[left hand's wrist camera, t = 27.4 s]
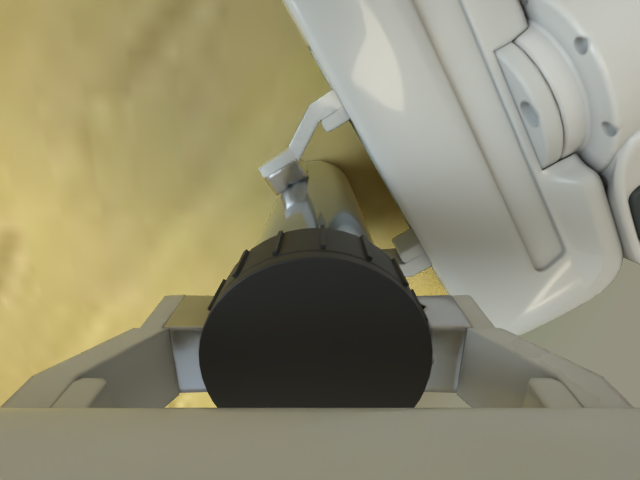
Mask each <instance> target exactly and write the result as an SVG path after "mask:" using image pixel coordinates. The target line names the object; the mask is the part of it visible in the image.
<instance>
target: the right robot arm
mask: <svg viewBox="0 0 640 480" xmlns="http://www.w3.org/2000/svg"><path fill="white" fill-rule="evenodd" d="M282 2H283V4H284V6H285V7H286V9H287V11H288V13H289V15H290V16H291V18H292V20H293V22H294V23H295V25H296V27H297V29H298V30H299V32H300V34H301V36H302V38H303V39H304V41H305V43H306V45H307V46H308V48H309V50H310V52H311V54H312V55H313V57H314V59H315V61H316V62H317V64H318V66H319V68H320V70H321V71H322V73H323V75H324V77H325V78H326V80H327V82H328V84H329V85H330V87H331V89H332V90H331V91H329V92H328V93H326V94H325V95H323V96H322V97H320V98H319V99H317V100H316V101H314V102H313V103H311V104H310V105H309V107H308V109H307V111H306V113H305V115H304V117H303V119H302V121H301V123H300V125H299V127H298V129H297V131H296V133H295V135H294V137H293V139H292V141H291V143H290V145H289V147H288V148H286V149H285V150H283V151H281V152H280V153H278V154H277V155H275V156H274V157H272V158H271V159H269V160H268V161H266V162H265V163H264V164H262V165H261V166H260V167H259V168H258V170H259V172H260V173H261V175H262V176H263V178H264V179H265V180H266V182H267V183H268V185H269V186H270V187H271V189H272V190H273V192H274V193H275V195H279V194H281V193H283V192H284V191H285V190H286V189H287V188H288V186H289V185H294V184H296V183H298V182H300V181H302V180H304V179H305V178H307V176H308V174H307V173H308V169H307V167H306V165H305V164H304V162H303V160H302V159H301V156H302V154H303V152H304V150H305V148H306V146H307V144H308V142H309V140H310V138H311V137H312V135H313V133H314V131H315V129H316V127H317V125H318V123H319V122H320V121H321V124H322V126H323V128H324V129H325V131H326V132H330V131H332V130H334V129H335V128H337V127H338V126H340V125H342V124H343V123H345V122H347V121H348V120H349V121H350V123H351V124H352V126H353V128H354V130H355V132H356V133H357V135H358V137H359V139H360V140H361V142H362V144H363V146H364V148H365V149H366V151H367V153H368V155H369V156H370V158H371V160H372V162H373V163H374V165H375V167H376V169H377V171H378V172H379V174H380V176H381V178H382V179H383V181H384V183H385V185H386V187H387V188H388V190H389V192H390V194H391V195H392V197H393V199H394V201H395V202H396V204H397V206H398V208H399V210H400V211H401V213H402V215H403V217H404V218H405V220H406V222H407V224H408V226H409V227H410V229H408V230H407V231H405V232H403V233H401V234H400V235H398V236H396V237H394V238H393V239H392V242H393V244H394V246H395V249H381V250H382V251H383V252H384V253H385V254H387V255H388V256H389V257H390V258H391V259H393V258H395V259H396V260H397V262H398V264H399V266H400V268H401V270H402V272H403V274H404V276H405V277H412V276H414V275H415V274H417V273H419V272H421V271H423V270H425V269H427V268H429V267H431V266H432V268H433V270H434V272H435V273H436V275H437V277H438V279H439V281H440V282H441V284H442V286H443V288H444V289H445V291H446V293H447V295H451V296H452V295H469V296H471V297H472V298H473V299H474V301H475V302H476V303H477V304H478V306H479V307H480V308H481V310H482V311H483V312H484V313H485V315H486V316H487V317H488V319H489V320H490V321H491V323H492V324H493V325H494V326H495V328H503V329H505V330H507V331H509V332H511V333H513V334H515V335H517V336H520V335H522V334H524V333H527V332H529V331H531V330H533V329H536V328H538V327H540V326H542V325H544V324H546V323H548V322H550V321H552V320H554V319H556V318H558V317H560V316H562V315H564V314H565V313H568V312H569V311H571V310H573V309H575V308H577V307H579V306H580V305H582V304H584V303H586V302H587V301H589V300H591V299H592V298H594V297H595V296H597V295H598V294H599V293H601V292H602V291H603V290H605V289H606V288H607V287H608V286H609V285H610V284H611V283H612V281H613V280H614V279H615V278H616V276H617V274H618V273H619V271H620V268H621V265H622V259H623V258H626V259H628V260H631V261H633V262H635V263H638V264H640V0H282Z"/></svg>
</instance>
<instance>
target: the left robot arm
mask: <svg viewBox="0 0 640 480" xmlns="http://www.w3.org/2000/svg"><path fill="white" fill-rule="evenodd" d="M213 297H214V296H198V295H187V296H186V295H168V296H165V297H164V298H163V299H162V301H161V302H160V303H159V304H158V306H157V307H156V308H155V309H154V311H153V312H152V313H151V314H150V316H149V317H148V318H147V320H146V321H145V322H144V323H143V325H142V326H141V327H140V328H133V329H131V330H129V331H127V332H124V333H122V334H120V335H118V336H116V337H114V338H112V339H110V340H108V341H106V342H103V343H101V344H99V345H97V346H95V347H93V348H91V349H89V350H87V351H84V352H82V353H80V354H78V355H76V356H74V357H72V358H70V359H68V360H65V361H63V362H61V363H59V364H57V365H55V366H53V367H51V368H49V369H46V370H44V371H42V372H40V373H38V374H36V375H34V376H32V377H31V378H30V379H29V380H28V381H27V382H26V383H25V384H24V385H23V386H21V387H20V388H19V389H18V390H17V391H16V392H15V393H14V394H13V395H12V396H11V397H10V398H9V399H8V400H7V401H6V402H5V403H4V404H3V405H2V406H1V407H0V480H640V408H634V407H633V406H632V405H631V404H630V403H629V402H628V401H627V400H626V399H625V398H624V397H623V396H622V395H621V394H620V393H619V392H618V391H617V390H616V389H615V388H614V387H613V386H612V385H611V384H610V383H609V382H608V381H607V380H606V379H605V378H604V377H602V376H600V375H598V374H596V373H594V372H592V371H590V370H588V369H586V368H584V367H582V366H580V365H577V364H575V363H573V362H571V361H569V360H567V359H565V358H563V357H561V356H559V355H557V354H554V353H552V352H550V351H548V350H546V349H544V348H542V347H540V346H538V345H536V344H534V343H532V342H530V341H528V340H525V339H523V338H521V337H519V336H517V335H515V334H513V333H511V332H509V331H507V330H505V329H503V328H495V326H494V325H493V324H492V323H491V321H490V320H489V319H488V317H487V316H486V315H485V313H484V312H483V311H482V310H481V308H480V307H479V306H478V304H477V303H476V302H475V301H474V299H473V298H472V297H471V296H469V295H452V296H451V295H440V296H417V298H418V300H419V302H420V304H421V306H422V308H423V310H424V312H425V314H426V316H427V318H428V321H427V322H426V323H427V325H428V328H429V332H430V335H431V340H432V348H433V359H432V368H431V373H430V378H429V380H428V383H427V386H426V389H425V391H424V392H449V393H457V395H458V396H459V397H460V398H461V399H463V400H464V401H465V402H466V403H467V404H468V405H469V406H470V407H472V408H164V407H166V406H167V405H168V404H169V403H170V402H171V401H172V400H174V399H175V398H176V397H177V396H178V395H179V393H187V392H207V390H206V387H205V385H204V382H203V379H202V375H201V371H200V366H199V343H200V337H201V333H202V329H203V326H204V324H205V322H206V319H207V317H208V315H209V313H210V311H208V310H207V309H208V307H209V305H210V303H211V301H212V299H213Z"/></svg>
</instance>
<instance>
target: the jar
mask: <svg viewBox="0 0 640 480" xmlns="http://www.w3.org/2000/svg"><path fill="white" fill-rule="evenodd" d="M304 164H305V165H306V167H307V169H308V173H307V174H308V176H307V178H305V179H304V180H302V181H300V182H298V183H296V184H294V185H289V186H288V188H287V189H286V190H285V191H284V192H283V193H281V194H279V195H278V197H277V200H276V202H275V204H274V207H273V209H272V211H271V214H270V216H269V218H268V221H267V223H266V225H265V228H264V230H263V232H262V235H261V237H260V239H259V242H258V244H257V245H259V244H260V243H262V242H263V241H265V240H267V239H269V238H271V237H274V236H276V235H277V234H278V231H281V230H283V233H285V232H288V231H293V230H298V229H305V228H320V225H325V228H328V229H334V230H340V231H344V232H347V233H350V234H354V235H356V236H359V237H360V236H361V235H364V236H365V237H366V240H367V241H369V242H370V243H372V244H374V245H375V243H374V241H373V239H372V236H371V234H370V231H369V229H368V227H367V224H366V222H365V219H364V217H363V215H362V212H361V210H360V207H359V205H358V203H357V200H356V198H355V195H354V193H353V190H352V188H351V186H350V183H349V181H348V179H347V177H346V176H345V174H344V173H343V172H342V171H341V170H340V169H339V168H338V167H336V166H335V165H333V164H331V163H328V162H325V161H319V160H314V161H308V162H304Z"/></svg>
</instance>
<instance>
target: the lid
mask: <svg viewBox="0 0 640 480" xmlns="http://www.w3.org/2000/svg"><path fill="white" fill-rule="evenodd" d="M408 285H409V284H408V282H407V280H406V278H405V276H404V274H403V272H402V270H401V268H400V266H399V264H398V262H397V260H396V259H395V258H393V259H391V258H390V257H389V256H388V255H387V254H385V253H384V252H383V251H382V250H381V249H380V248H378V247H377V246H375V245H374V244H372V243H370V242H369V241H367V240H366V237H365V236H364V235H361V236H360V237H359V236H356V235H354V234H350V233H347V232H344V231H340V230H334V229H328V228H325V225H320V228H305V229H298V230H293V231H288V232H285V233H283V230H281V231H278V234H277V235H276V236H274V237H271V238H269V239H267V240H265V241H263V242H262V243H260V244H259V245H257V246H256V247H254V248H253V249H251V250H250V251H248V250H245V251H244V252H243V254H242V256H241V258H240V260H239V262H238V263H237V264H236V266H235V267H234V268H233V270H232V272H231V273H230V275H229V276H228V278H227V280H224V279H223V281H222V283H221V285H220V286H219V288H218V290H217V292H216V294H215V296H214V297H213V299H212V301H211V303H210V305H209V307H208V309H207V310H208V311H210V313H209V315H208V317H207V319H206V322H205V324H204V326H203V329H202V333H201V337H200V343H199V366H200V371H201V375H202V379H203V382H204V385H205V387H206V390H207V392H208V394H209V395H210V397H211V399H212V401H213V402H214V404H215V405H216V406H217V408H414V407H415V406H416V404H417V403H418V401H419V400H420V398H421V396H422V394H423V392H424V391H425V389H426V386H427V383H428V380H429V378H430V373H431V368H432V359H433V348H432V340H431V335H430V332H429V328H428V325H427V323H426V322H427V321H428V318H427V316H426V314H425V312H424V310H423V308H422V306H421V304H420V302H419V300H418V298H417V296H416V295H415V293H414V291H413V289H412V290H410V288H409V286H408Z"/></svg>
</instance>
